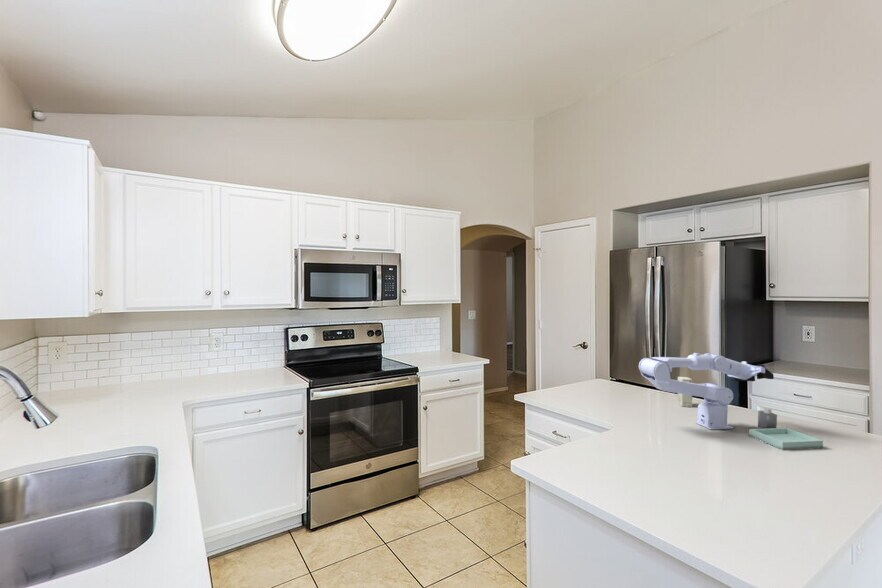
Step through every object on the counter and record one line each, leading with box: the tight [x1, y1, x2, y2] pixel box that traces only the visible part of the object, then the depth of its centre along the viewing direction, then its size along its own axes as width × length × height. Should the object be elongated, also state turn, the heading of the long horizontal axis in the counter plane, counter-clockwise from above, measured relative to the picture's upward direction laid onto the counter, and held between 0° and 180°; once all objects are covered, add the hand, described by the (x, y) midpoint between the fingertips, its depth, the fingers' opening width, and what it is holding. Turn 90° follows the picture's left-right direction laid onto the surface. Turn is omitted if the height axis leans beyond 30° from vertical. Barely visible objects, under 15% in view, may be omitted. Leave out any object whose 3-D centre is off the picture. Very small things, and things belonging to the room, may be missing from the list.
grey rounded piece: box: [757, 407, 778, 429], centre depth 163 cm, size 4×6×8 cm, turn 8°
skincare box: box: [676, 376, 693, 408], centre depth 194 cm, size 6×4×12 cm
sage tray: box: [748, 427, 824, 451], centre depth 149 cm, size 15×13×2 cm
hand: (763, 377), depth 169 cm, fingers open, 7 cm apart
